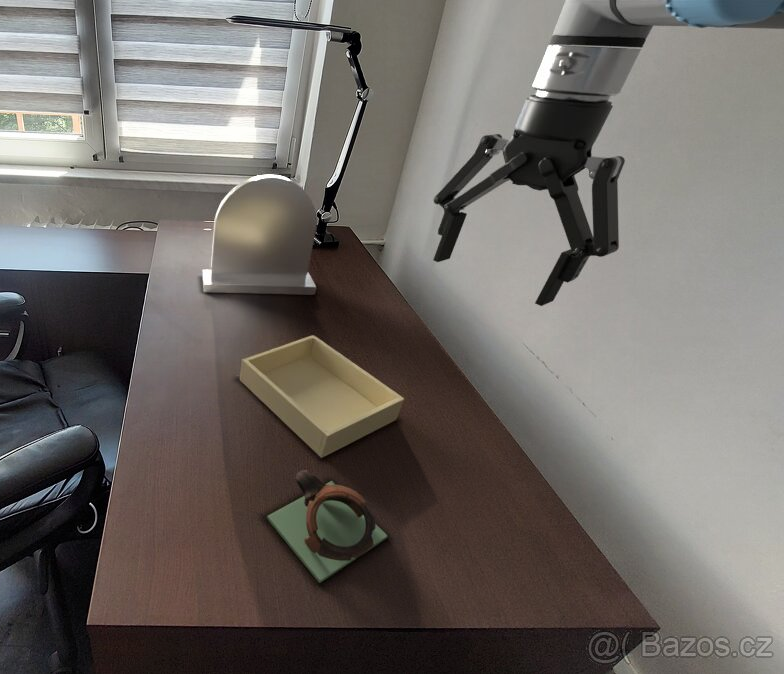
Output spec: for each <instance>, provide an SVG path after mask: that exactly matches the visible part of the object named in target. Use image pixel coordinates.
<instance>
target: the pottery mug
mask: <svg viewBox="0 0 784 674" xmlns="http://www.w3.org/2000/svg"><path fill="white" fill-rule="evenodd" d="M295 481H296V484H297V485H298V487H299V489H300V490H301V492H302V494H303V496H304V497H305V502H304V503H305V506H307V507H308V508H307V513H306V526H307V531H308V534H309V537H308V538H305V539H304V540H305V544H306V545H307V547H308V548H309V549H310V550H311V551H312V552H314V553H318V555H320V556H322V557H325V558H329V559H333V560H340V561H349V560H351V557H354V558H356V559H357V558H360V557H361V556H362V555H364V554H365V553H367V552H368V551H369V550H368V549H370V548H371V549H373V548H374V547H375V546H374V544H373V538H372V532H373V531H374V529H375V527H376V526H375V525H377V518H376V516H375V515H374V514H373V513H372V512H371V511H370V510H369V508H368V507H367V505H366V504H368V502H367V500H366V499H365V498H364V497H363V496H362V495H361V494H359V493H358V492H357V491H356V490H354V489H352V488H349V487H347V486H344V485H340V484H335V485H326V484H327V483H324V482H323V481H322V480H320V478H319V477H317V476H316V475H314V474H312V473H311V472H310V471H309V470H307V469H304V470H303V469H302V470H300V471H299V472H297V473H296V475H295ZM331 500H332V501H339V502H342V503H344V504H346V505H348V506H349V507H350V508H351V509H352V510H353V511H354V512H355V514H356V515H357V516H358V517H361V516H362V515H364V518H365V523H366V529H365V533H364V536H363V537H362V539H361V540H360V541H359V542H358V543H356V544H355V545H352V546H348V547H342V546H337V545H334V544H332V543H330V542H329V541H327V540H326V539H325V538H323V539H322V540H321V538H320V537H319V536H318V534H317V532H316V531H317V530H318V526H317V521H316V515H317V511H318V508H319V507H320V505H321V504H322V503H323V502H325V501H331ZM373 546H374V547H373ZM372 547H373V548H372ZM371 549H370V550H371ZM367 550H368V551H367ZM366 551H367V552H366ZM363 553H364V554H363Z"/></svg>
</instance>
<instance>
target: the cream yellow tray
mask: <svg viewBox="0 0 784 674" xmlns="http://www.w3.org/2000/svg"><path fill="white" fill-rule="evenodd" d="M239 381H240V382H241V383H242V384H244V386H245V387H246V388H247V389H248V390H250V391H251V393H253V394H254V395H255V396H256V397H257V398H258V399H259V400H260V401H261V402H262V403H263V404H264V405H265V406H266V407H267V408H269V410H271V412H273V414H274V415H276V416H277V417H278V418H279V420H281V421H282V422H283V423H284V424H285V425H287V427H288V428H289V429H290V430H291V431H292V432H293V433H294V434H296V435H297V436H298V437H299V439H301V440H302V441H303V442H304V443H305V444H306V445H307V446H308V447H309V448H311V450H312V451H313V452H314V453H315V454H317V455H318V457H320V459H323V458H324V457H326V456H328V455H330V454H333V453H334V452H336V451H338V450H340V449H342V448H344V447H346V446H348V445H350V444H351V443H354V442H355V441H358V440H360V439H362V438H364V437H365V436H367V435H369V434H372V433H373V432H375V431H378V430H379V429H381V428H383V427H385V426H387V425H389V424H391V423H393V422H395V421H397V419H398V417H399V414H400V412H401V409H402V407H403V404H404V402H405V398H404V397H403V396H401V395H400V394H398V393H397V392H396V391H394V390H393V389H391V387H388V386H387V385H386V384H384V383H383V382H381V381H380V380H379V379H377V378H375V376H373V375H371V374H370V373H369V372H368V371H366V370H364V369H363V368H361V367H360V366H359V365H357V364H356V363H354V362H352V361H351V360H350V359H349V358H347V357H346V356H345V355H343V354H341V353H340V352H339V351H337V350H336V349H334V347H331V346H330V345H328V344H327V343H326V342H324V341H323V340H321V339H320V338H319V337H317V336H316V335H314V334H311V335H310V336H306V337H303V338H300V339H298V340H295V341H292V342H289V343H286V344H284V345H280V346H278V347H274V348H272V349H268V350H266V351H263V352H260V353H257V354H255V355H252V356H249V357H246V358H242V359H241V366H240V374H239Z"/></svg>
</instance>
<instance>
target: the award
mask: <svg viewBox="0 0 784 674" xmlns="http://www.w3.org/2000/svg"><path fill="white" fill-rule="evenodd" d="M317 218H318V217H317V211H316V208H315V205H314V202H313V200H312V199H311V197H310V196H309V194H308V193H307V191H306V190H305V189H304V188H303V187H301V185H299V184H298V183H297V182H295V181H294V180H293V179H290V178H288V177H286V176H282V175H279V174H262V175H256V176H253V177H250V178H246V179H245V180H243V181H241V182H240V183H238V184H237V185H236V186H234V187H232V189H230V191H229V192H228V193H227V194H226V195H225V196H224V197H223V199H222V200H221V202H220V204H219V206H218V208H217V210H216V213H215V216H214V222H213V233H212V234H213V235H212V248H211V260H210V261H211V262H210V269H202V278H201V279H202V286H203V292H204V293H224V294H225V293H227V294H229V293H231V294H266V295H267V294H268V295H269V294H271V295H303V296H304V295H310V296H314V295H316V290H317V285H316V283H315V282H314V280H313V278H312V276H311V275H310V273H309V272H308V270H309V265H310V260H311V256H312V251H313V245H314V241H315V237H316V232H317V223H318V221H317V220H318V219H317Z"/></svg>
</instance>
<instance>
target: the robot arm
mask: <svg viewBox="0 0 784 674" xmlns="http://www.w3.org/2000/svg"><path fill="white" fill-rule="evenodd" d="M654 27H692V28H699V29H704V28H717V29H718V28H721V29H722V28H731V29H732V28H734V29H771V30H772V29H773V30H774V29H775V30H784V0H565V1H564V3H563V6H562V9H561V12H560V14H559V17H558V19H557V22H556V24H555V27H554V30H553V32H552V35H551V38H550V40H549V42H548V45H547V48H546V50H545V52H544V55H543V57H542V59H541V62H540V65H539V67H538V70H537V72H536V74H535V76H534V79H533V82H532V84H531V87H532V88H533V90H535V93H534V94H530V95H529V97H526V99H525V101H524V104H523V106H522V109H521V112H520V113H519V116H518V119H517V121H516V123H515V127H514V131H513V134H512V136H511V137H510V138H509V139H506V138H503V136H502V135H501V134H500V133H494V134H493V133H492V134H486V135H483V136H482V137H481V138H480V140H479V142H478V144H477V146H476V148H475V149H474V153H473V154H472V155H471V156H470V157H469V158H468V160H466V162H465V163H464V164H463V165H462V166H461V167H460V168H459V169H458V170H457V172H455V174H454V175H453V176H452V177H451V178H450V180H448V181H447V182H446V184H445V185H444V186H443V187H442V188H441V189H440V190H439V191H438V192H437V193H436V195H435V196H434V197H433V203H434V204H435V205H439V206H440V207H442V209H443V215H442V217H441V220H440V224H439V226H438V229H437V235H439V236H441V237H440V240H439V243H438V246H437V247H436V251H435V254H434V257H433V259H432V260H433V262H436V263H440V262H443V261H447V260H450V259H451V256H452V254H453V251H454V249H455V247H456V244H457V241H458V238H459V236H460V233H461V231H462V229H463V225H464V223H465V220H466V218H467V215H468V213H466V212H463V210H464V209H465V208H466V207H468V206H470V205H471V204H473V203H475V202H476V201H478V200H479V199H482V198H483V197H484V196H485V195H487V194H489V193H490V192H492V191H494V190H495V189H497V188H499V187H500V186H502V185H503V184H505V183H507V182H509V181H511V182H512V183H511V184H512V185H514V186H515V185H516V186H527V187H529V188H530V189H532V190H534V191H535V190H536V191H539V192H541V191H548V194H549V196H550V198H551V199H552V200H553V201H554V204H555V207H556V210H557V213H558V216H559V219H560V221H561V224H562V227H563V231H564V233H565V237H566V239H567V242H568V245H569V248H570V249H567V250H564V251H562V252H561V253H560V255H559V256H558V259H557V260H556V262H555V264H554V266H553V269H552V270H551V272H550V273H549V275H548V277H547V280H546V281H545V283H544V285H543V287H542V289H541V291H540V292H539V294H538V296H537V298H536V300H535V302H534V304H536V305H537V306H540V307H543V306H545V305H547V304H550V303H552V302H554V301H555V299H556V297H557V295H558V294H559V291H560V290H561V287H562V286H563V284H564V283H571V282H573V281H575V280H576V279H578V277H579V276H580V274H581V272H582V270H583V269H584V267H585V265H586V263H587V262H588V260H589V258H590V257H598V258H603V257H605V256H609V255H611V254H613V253H615V252H617V251H618V250H619V248H620V240H619V238H620V237H619V236H620V235H619V234H620V233H619V191H618V189H619V188H618V185H619V184H618V182H619V181H618V179H619V178H620V175H621V173H622V170H623V168H624V166H625V162H626V158H624V157H623V156H621V155H616V156H612V157H606V156H594V155H593V156H592V149H593V146H594V145H595V143H596V141H597V139H598V137H599V135H600V133H601V131H602V129H603V127H604V125H605V123H606V121H607V119H608V117H609V115H610V114H611V111H612V110H613V107H614V106H613V105H612V104H613V102H612V101H610V98H611V97H615V96H617V95H619V94H621V91H622V89H623V88H624V85H625V83H626V81H627V79H628V77H629V75H630V73H631V71H632V70H633V67H634V65H635V63H636V61H637V59H638V57H639V55H640V52H641V50H642V48H643V47H644V45H645V43H646V40H647V38H648V36H649V34H651V31H652V29H653V28H654ZM501 152H502V156H503V160H504V164H503V165H501V166H500V167H498V168H497V169H496V170H494V171H493V172H491V173H490V174H489V175H488V176H487V177H485V178H484V179H482V180H481V181H479V182H478V183H476V184H475V185H473V186H472V187H470V188H469V189H467V190H465V191H464V192H462V193H461V191H462V190H464V188H465V187H466V186H467V185H468V184H469V183H470V182H471V181H472V180H473V179H474V178H475V177H476V176H477V174H479V173H480V172H481V171H482V170H483V168H484V167H485V166H487V164H488V163H489V162H490V161H491V159H493V157H496V156H498V155H499V154H500V153H501ZM585 169H587V170H588V177H589V178H590V179H591V180H592V184H591V203H592V205H591V207H592V208H591V209H592V230H591V226H590V224H589V221H588V219H587V215H586V213H585V209H584V206H583V203H582V201H581V198H580V195H579V186H578V183H577V180H576V175H577V174H579V173H580V172H582V171H583V170H585ZM459 194H460V195H459ZM457 195H458V196H457Z"/></svg>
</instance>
